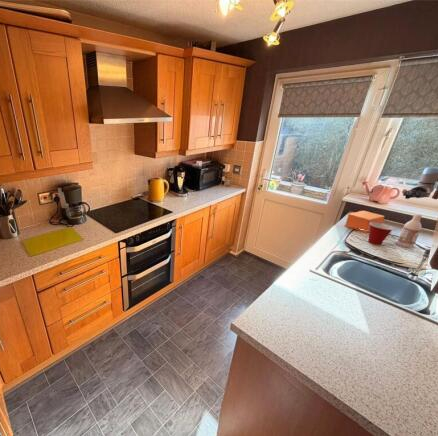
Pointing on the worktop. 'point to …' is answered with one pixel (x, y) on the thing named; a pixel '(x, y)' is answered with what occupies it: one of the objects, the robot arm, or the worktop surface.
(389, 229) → the plastic cup
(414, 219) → the bath foam
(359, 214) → the lid
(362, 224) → the box
